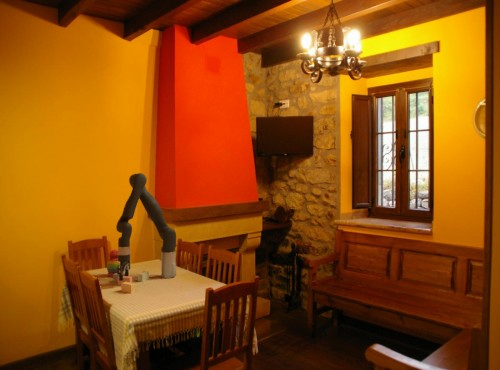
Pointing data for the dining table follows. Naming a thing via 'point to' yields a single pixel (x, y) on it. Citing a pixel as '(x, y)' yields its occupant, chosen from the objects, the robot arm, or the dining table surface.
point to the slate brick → (116, 277)
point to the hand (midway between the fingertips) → (123, 278)
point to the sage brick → (143, 276)
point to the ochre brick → (128, 287)
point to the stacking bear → (112, 263)
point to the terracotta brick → (125, 279)
